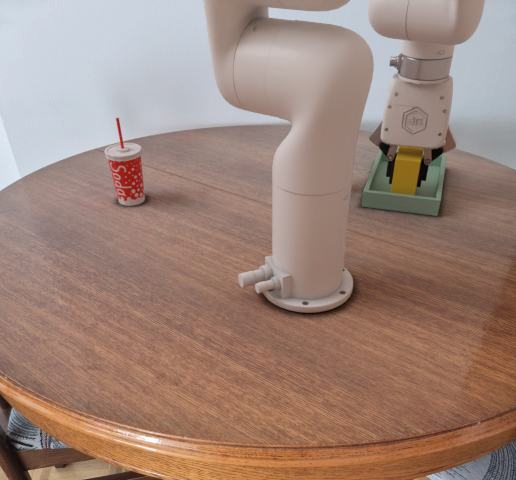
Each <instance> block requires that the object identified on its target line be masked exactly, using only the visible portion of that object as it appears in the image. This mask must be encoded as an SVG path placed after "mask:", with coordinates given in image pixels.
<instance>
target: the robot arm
mask: <svg viewBox="0 0 516 480" xmlns="http://www.w3.org/2000/svg"><path fill="white" fill-rule="evenodd" d="M350 1H351V0H203V1H202V2H203V8H204V15H205V22H206V29H207V30H206V31H207V39H208V45H209V52H210V58H211V65H212V72H213V76H214V81H215V83H216V86H217V88H218V91H219V93H220V95H221V96H222V98H223V99H224V100H225V102H227V103H228V104H229V105H231V106H233V107H235V108H236V109H239V110H243V111H247V112H251V113H254V114H259V115H265V116H269V117H275V118H278V119H280V120H285V121H288V122H290V124H291V129H290V130H289V132H288V134H287V136H286V137H284V139H283V141H282V142H281V143H280V144H279V146H278V147H277V149H276V150H275V153H274V155H273V159H272V165H271V166H272V167H271V180H272V181H271V187H272V189H271V190H272V191H271V192H272V193H271V215H272V216H271V223H272V224H271V254H270V255H266V256H264V264H263V265H259V267H258V269H254V270H248V271H245V272H241V273H238V274H237V281H238V284H239V285H240V288H242V289H244V288H248V287H251V286H254V290H255V292H256V293H257V294H258V295H259V294H263V295H264V297H265V298H266V299H267V300H268V301H269V302H270V303H272V304H273V305H275V306H277V307H278V308H282V309H284V310H286V311H291V312H296V313H305V314H312V313H322V312H326V311H331V310H333V309H335V308H338V307H339V306H341V305H343V304H344V303H345V302H347V301H348V299H349V298H350V297H351V295H352V293H353V290H354V279H353V276H352V274H351V273H350V271H349V269H347V268H346V267H345V266H344V265H345V254H346V245H347V237H348V235H347V234H348V226H349V216H350V206H351V197H352V196H351V195H352V186H353V178H354V177H353V175H354V167H355V158H356V150H357V144H358V139H359V133H360V129H361V124H362V120H363V116H364V112H365V109H366V104H367V101H368V97H369V95H370V91H371V86H372V82H373V78H374V70H375V69H374V67H375V66H374V65H375V64H374V55H373V51H372V49H371V47H370V45H369V44H368V42H367V41H366V39H365V38H364V37H363V36H361V35H360V34H359V33H358V32H356V31H353V30H352V29H350V28H347V27H344V26H341V25H337V24H331V23H325V22H324V23H323V22H315V21H306V20H297V19H293V20H292V19H284V18H276V17H275V18H274V17H269V16H270V15H269V8H270V9H272V8H273V9H283V10H291V11H304V12H331V11H334V10H339V9H340V8H342V7H344V6H345V5H348V3H349V2H350ZM485 1H486V0H369V1H368V7H367V8H368V9H367V12H368V13H367V14H368V15H367V16H368V22H369V24H370V27H371V28H372V29H373V31H374V32H375V33H376V34H377V35H379V36H382V37H383V38H387V39H393V40H401V41H402V43H401V51H400V53H399V54H398V55H396V56H390V59H389V67H394V68H395V69H396V71H397V72H395V73H394V74H393V75H392V77H391V80H390V83H389V87H388V90H387V93H386V99H385V104H384V110H383V115H382V120H380V122H379V123H378V125H377V126H376V127H375V128H374V130H373V131H372V132H371V133H370V135H369V138H368V139H369V141H370V142H371V143H372V144H374V145H375V146H377V147H378V148H379V149H380V150H381V151H382V152H383V153H384V155H385V156H386V157H387V160H388V165H387V172H386V177H390V178H389V184H392V180H393V173H394V167H395V160H396V156H397V153H396V151H397V150H398V149H399V147H400V146H406V147H416V148H424V150H423V153H424V156H423V159H422V160H421V164H420V170H419V175H418V181H417V187H420V186H421V182H422V181H426V178H427V172H428V167H429V164H431V162H432V161H433V160H435V159H436V158H438V157H439V156H440V155H444V154H445V153H448V152H450V151H452V150H454V149H455V148H456V147H457V141H456V138H455V135H454V133H453V130H452V129H451V126H450V124H449V123H450V117H451V110H452V105H453V104H452V103H453V97H454V96H453V94H454V78H453V76H451V75H450V72H451V67H452V62H453V56H454V52H455V48H456V46H457V45H462V44H464V43H466V42H467V41H469V39H470V38H472V36H473V35H474V34H475V33H476V31H477V29H478V28H479V26H480V23H481V20H482V17H483V12H484V8H485V3H486V2H485Z"/></svg>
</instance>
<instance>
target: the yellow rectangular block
mask: <svg viewBox="0 0 516 480" xmlns="http://www.w3.org/2000/svg"><path fill="white" fill-rule="evenodd" d="M397 150H398V153H397V156H396V160H395V167H394V173H393V180H392V187H391V193H398V194H406V195H415V192H416V187H417V181H418V175H419V170H420V164H421V160H422V156H423V153H424V148H416V147H406V146H398V149H397Z"/></svg>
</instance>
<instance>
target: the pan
mask: <svg viewBox="0 0 516 480" xmlns="http://www.w3.org/2000/svg"><path fill="white" fill-rule="evenodd" d="M398 150H399V149H397V151H396V153H398ZM423 156H424V152H423ZM423 156H422V159H423ZM447 157H448V155H446V154H442V155H440V156H439V157H438V158H436V159H435V160H433V161H432V162H431V164H429V167H428V172H427V178H426V181H422V182H421V186H420V187H416V192H415V195H406V194H398V193H391V187H392V184H389V178H390V177H386V172H387V165H388V160H387V157H386V156H385V155H384V153H383V152H382V151H381V150H380V148H379V149H378V151H377V154H376V156H375V160H374V162H373V165H372V166H371V167H372V168H371V169H370V172H369V175H368V178H367V180H366V183H365V186H364V188H363V190H362V199H361V207H362V208H369V209H378V210H386V211H392V212H401V213H408V214H409V213H410V214H417V215H426V216H433V217H438V216H439V211H440V207H441V201H442V194H443V187H444V181H445V173H446V167H447V166H446V165H447V159H448V158H447Z"/></svg>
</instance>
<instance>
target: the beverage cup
mask: <svg viewBox="0 0 516 480" xmlns="http://www.w3.org/2000/svg"><path fill="white" fill-rule="evenodd" d="M115 120H116V127H117V132H118V137H119V142H118V143H115V144H111V145H109V146H107V147H106V148H105V149H104V155H105V158H106V160H107V161H108V165H109V170H110V173H111V177H112V181H113V184H114V188H115V192H116V197H117V199H118V203H119V204H120V205H123V206H126V207H127V206H128V207H129V206H130V207H131V206H137V205H140V204H142V203H144V202H145V200H146V196H145V185H144V184H145V183H144V174H143V164H142V154H143V149H142V146H141V145H140V144H139V143H135V142H124V140H123V134H122V128H121V122H120V118H119V117H115Z"/></svg>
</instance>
